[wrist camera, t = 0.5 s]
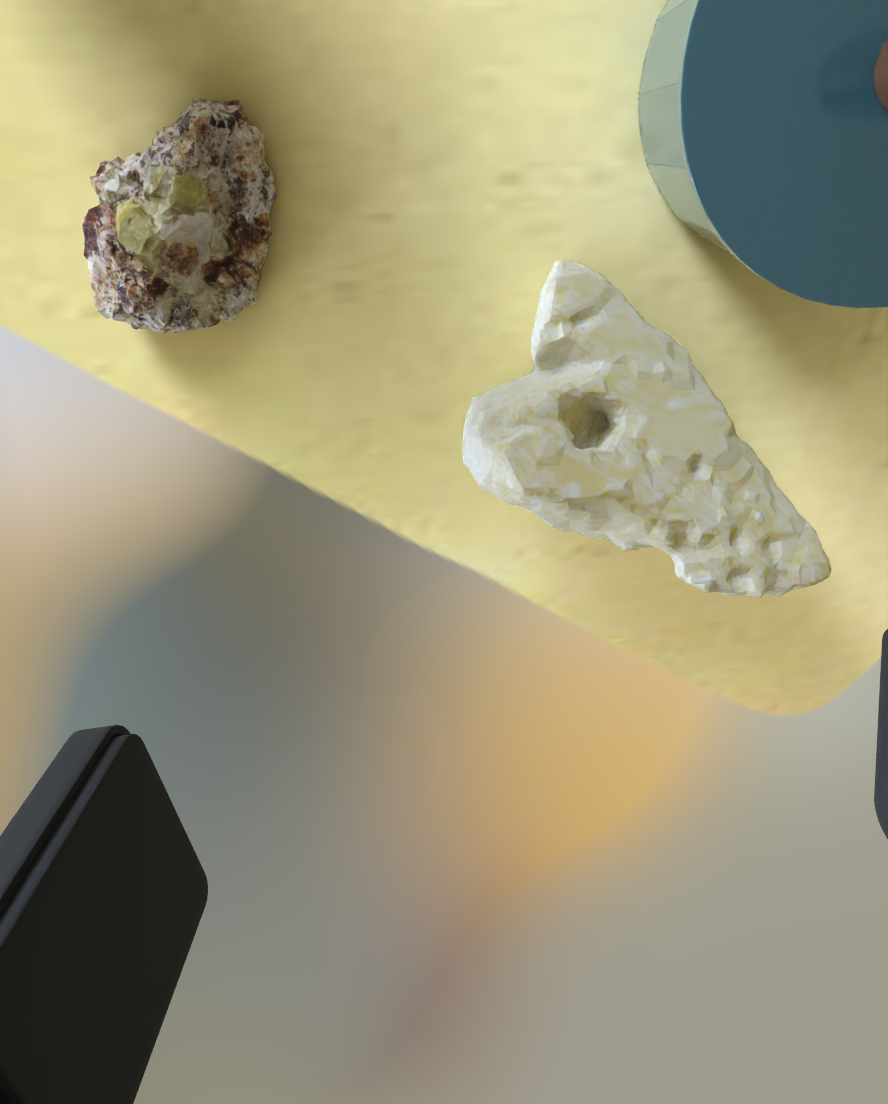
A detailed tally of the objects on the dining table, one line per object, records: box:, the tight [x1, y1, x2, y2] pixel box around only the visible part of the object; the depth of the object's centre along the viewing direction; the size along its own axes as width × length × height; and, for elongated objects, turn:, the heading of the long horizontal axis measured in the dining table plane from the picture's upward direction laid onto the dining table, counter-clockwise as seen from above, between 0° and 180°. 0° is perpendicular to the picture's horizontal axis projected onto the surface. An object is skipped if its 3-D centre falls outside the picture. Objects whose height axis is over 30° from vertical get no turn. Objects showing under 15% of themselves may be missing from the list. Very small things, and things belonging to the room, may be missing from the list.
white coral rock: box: [462, 260, 831, 597], centre depth 36 cm, size 15×7×15 cm
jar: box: [638, 0, 732, 254], centre depth 28 cm, size 13×13×10 cm
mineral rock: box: [82, 99, 277, 333], centre depth 34 cm, size 11×4×8 cm
